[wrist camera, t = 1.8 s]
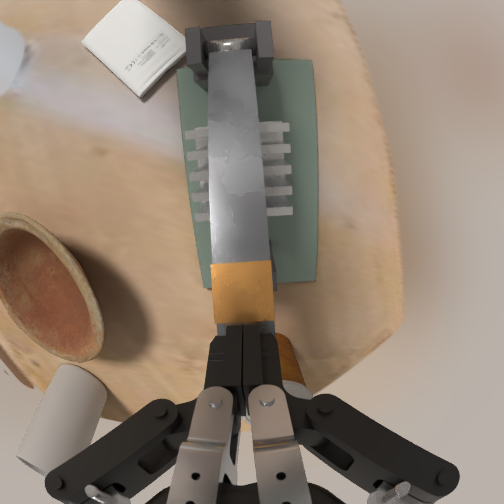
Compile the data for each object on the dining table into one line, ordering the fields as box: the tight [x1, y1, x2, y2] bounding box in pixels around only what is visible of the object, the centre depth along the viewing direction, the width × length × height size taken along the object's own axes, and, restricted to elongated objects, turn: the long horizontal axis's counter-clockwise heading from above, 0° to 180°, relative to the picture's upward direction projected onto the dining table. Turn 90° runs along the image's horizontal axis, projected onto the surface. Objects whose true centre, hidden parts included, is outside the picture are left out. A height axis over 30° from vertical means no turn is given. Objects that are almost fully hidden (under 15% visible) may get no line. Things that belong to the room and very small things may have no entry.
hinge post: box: [185, 21, 274, 91], centre depth 19 cm, size 5×6×11 cm
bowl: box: [0, 212, 105, 363], centre depth 30 cm, size 24×24×8 cm
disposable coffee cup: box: [242, 333, 313, 425], centre depth 35 cm, size 10×10×12 cm
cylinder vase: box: [16, 364, 107, 477], centre depth 34 cm, size 12×12×25 cm
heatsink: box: [185, 121, 293, 222], centre depth 25 cm, size 8×8×8 cm
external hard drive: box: [82, 0, 186, 98], centre depth 21 cm, size 2×8×12 cm
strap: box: [204, 37, 275, 337], centre depth 15 cm, size 21×4×2 cm
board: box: [177, 59, 318, 288], centre depth 29 cm, size 26×14×1 cm, turn 4°
